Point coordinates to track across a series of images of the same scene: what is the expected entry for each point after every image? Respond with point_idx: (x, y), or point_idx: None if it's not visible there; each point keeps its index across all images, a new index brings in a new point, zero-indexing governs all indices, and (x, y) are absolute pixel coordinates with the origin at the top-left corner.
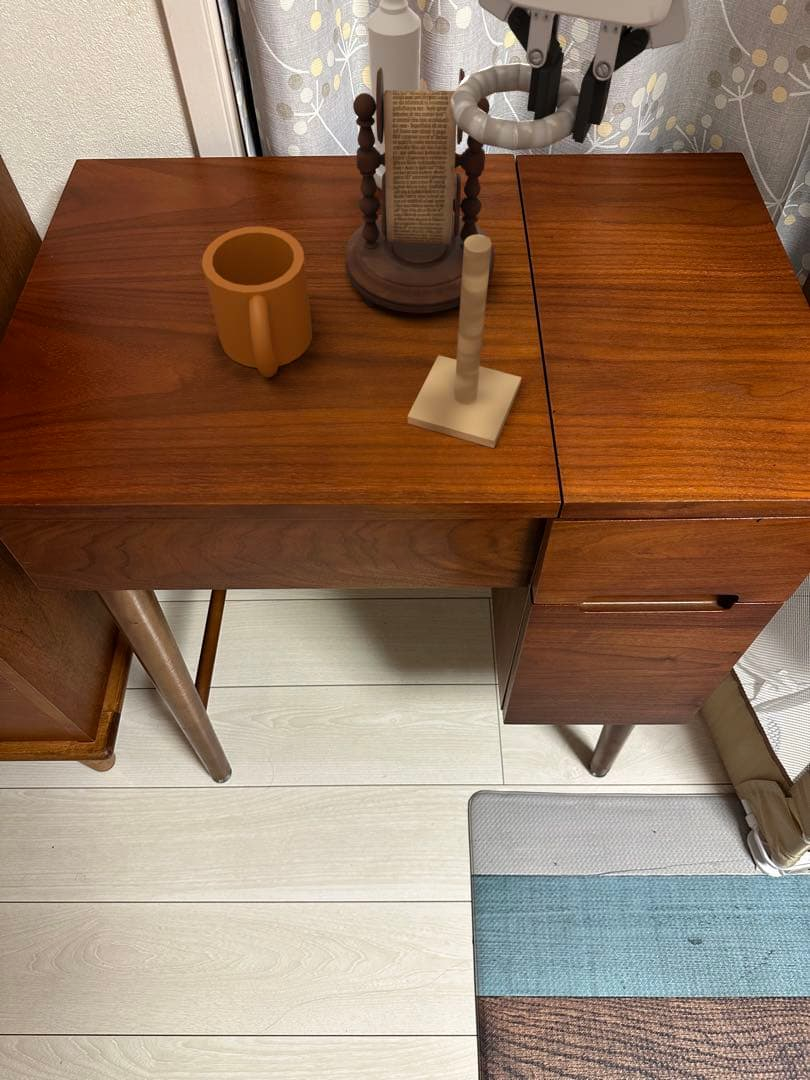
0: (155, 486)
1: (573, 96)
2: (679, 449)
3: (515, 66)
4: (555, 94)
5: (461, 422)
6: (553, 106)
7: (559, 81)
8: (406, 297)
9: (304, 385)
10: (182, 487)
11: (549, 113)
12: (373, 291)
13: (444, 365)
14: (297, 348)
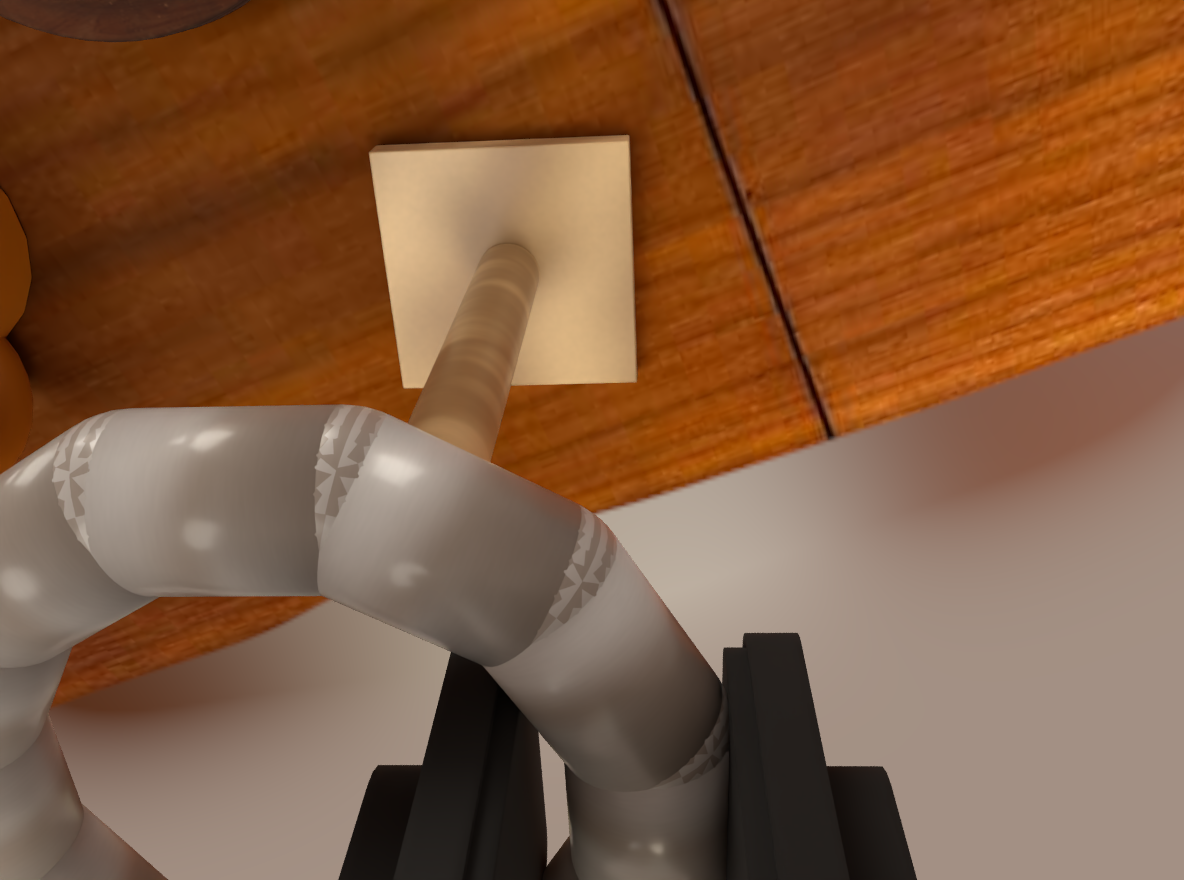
0: None
1: (644, 790)
2: (1112, 191)
3: (71, 579)
4: (520, 823)
5: (536, 360)
6: (529, 765)
7: (509, 815)
8: (158, 17)
9: (111, 359)
10: (92, 675)
11: (535, 838)
12: (46, 29)
13: (404, 186)
14: (14, 293)
